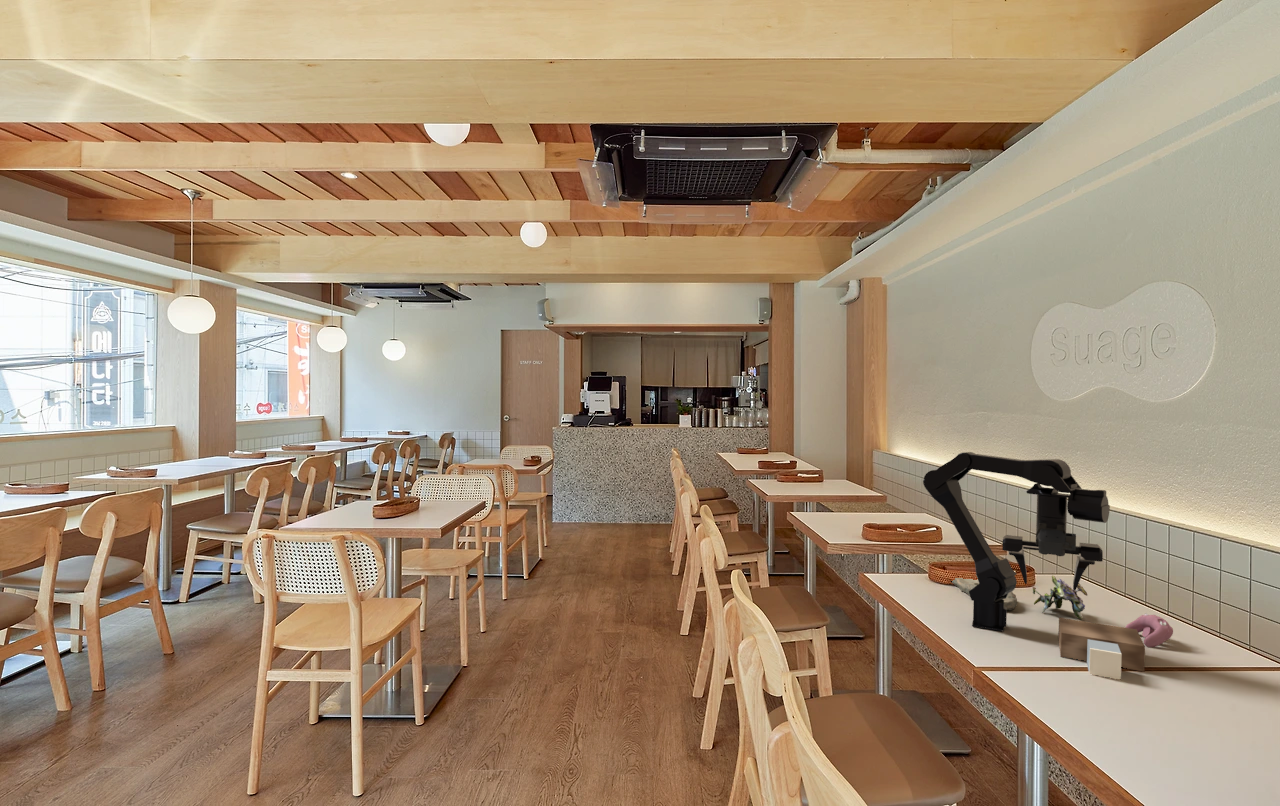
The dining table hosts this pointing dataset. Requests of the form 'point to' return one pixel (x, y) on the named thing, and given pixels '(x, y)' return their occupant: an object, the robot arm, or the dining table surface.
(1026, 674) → the dining table surface
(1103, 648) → the grey block
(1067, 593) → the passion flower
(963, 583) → the elongated rock
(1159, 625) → the pink creature figurine
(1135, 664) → the walnut step
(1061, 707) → the dining table surface
